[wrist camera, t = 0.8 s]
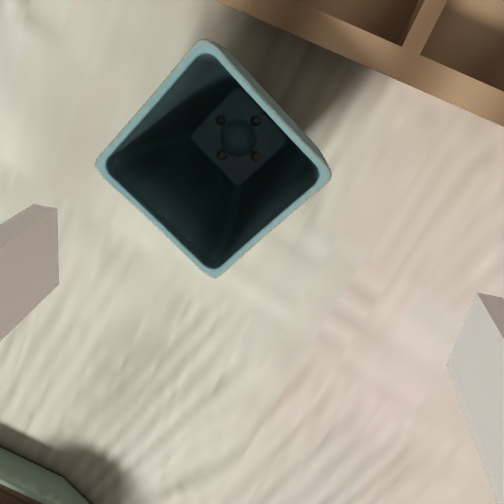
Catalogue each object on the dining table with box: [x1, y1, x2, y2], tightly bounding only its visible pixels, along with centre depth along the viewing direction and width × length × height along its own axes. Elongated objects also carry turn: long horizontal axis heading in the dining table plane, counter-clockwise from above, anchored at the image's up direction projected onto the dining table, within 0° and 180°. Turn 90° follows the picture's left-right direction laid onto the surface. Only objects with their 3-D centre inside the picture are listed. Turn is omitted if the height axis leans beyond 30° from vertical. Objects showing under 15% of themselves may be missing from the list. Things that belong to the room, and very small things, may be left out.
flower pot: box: [95, 39, 332, 278], centre depth 28 cm, size 9×9×9 cm
